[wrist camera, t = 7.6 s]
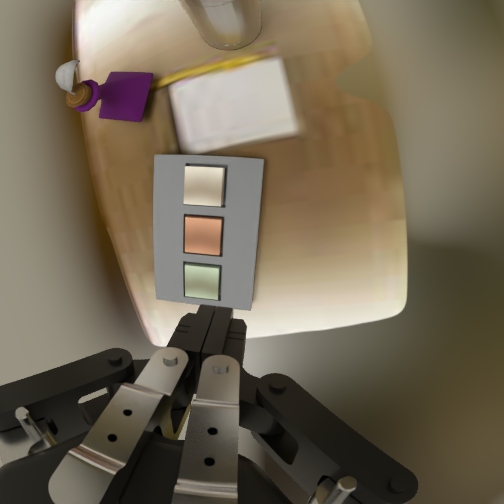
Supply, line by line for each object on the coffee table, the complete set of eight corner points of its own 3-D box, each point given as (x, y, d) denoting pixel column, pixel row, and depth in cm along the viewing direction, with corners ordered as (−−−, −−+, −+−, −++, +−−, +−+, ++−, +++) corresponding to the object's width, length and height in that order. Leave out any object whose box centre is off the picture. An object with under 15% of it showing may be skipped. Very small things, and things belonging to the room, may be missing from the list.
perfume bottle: (149, 124, 39) (79, 110, 22) (109, 119, 39) (32, 110, 22) (161, 78, 36) (99, 40, 19) (120, 76, 36) (49, 47, 19)
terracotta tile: (189, 214, 41) (185, 217, 39) (223, 217, 41) (221, 220, 39) (188, 247, 43) (184, 252, 41) (221, 250, 43) (219, 255, 41)
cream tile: (189, 165, 38) (185, 166, 36) (225, 167, 38) (223, 168, 36) (187, 201, 40) (183, 204, 38) (223, 204, 39) (220, 206, 38)
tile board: (162, 154, 40) (154, 154, 37) (264, 159, 40) (263, 159, 37) (162, 290, 47) (156, 299, 44) (252, 301, 47) (250, 310, 44)
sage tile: (188, 260, 43) (184, 265, 42) (221, 263, 43) (218, 268, 41) (188, 290, 45) (185, 296, 43) (219, 294, 45) (217, 299, 43)
